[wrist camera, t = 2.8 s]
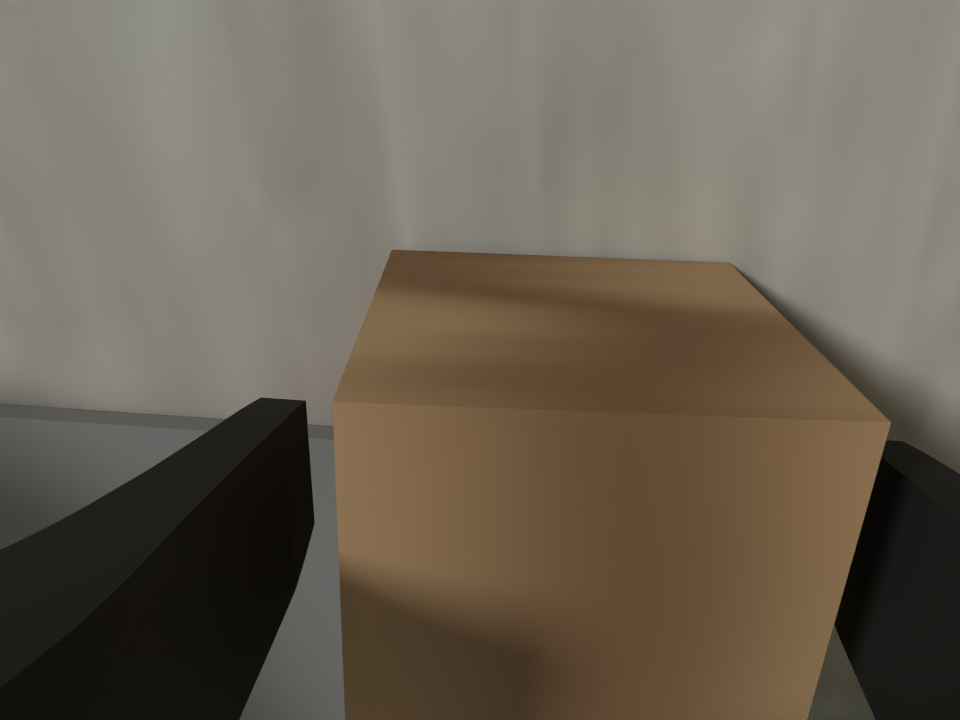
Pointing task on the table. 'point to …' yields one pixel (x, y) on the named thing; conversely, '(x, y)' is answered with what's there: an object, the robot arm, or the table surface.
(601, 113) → the table surface
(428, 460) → the cube
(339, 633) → the mat
